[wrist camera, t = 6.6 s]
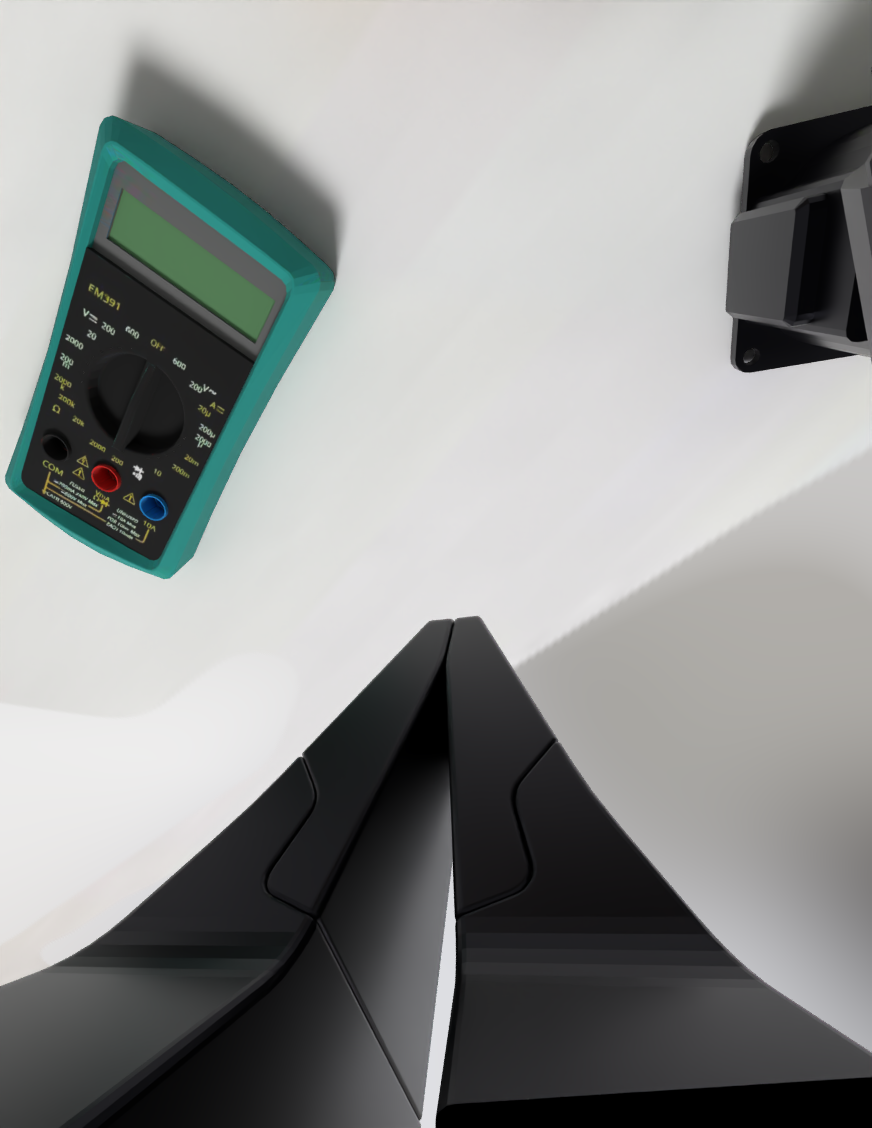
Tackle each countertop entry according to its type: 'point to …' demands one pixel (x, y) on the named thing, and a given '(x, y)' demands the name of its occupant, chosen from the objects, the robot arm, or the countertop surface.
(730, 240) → the robot arm
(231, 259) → the digital multimeter
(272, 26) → the countertop surface
